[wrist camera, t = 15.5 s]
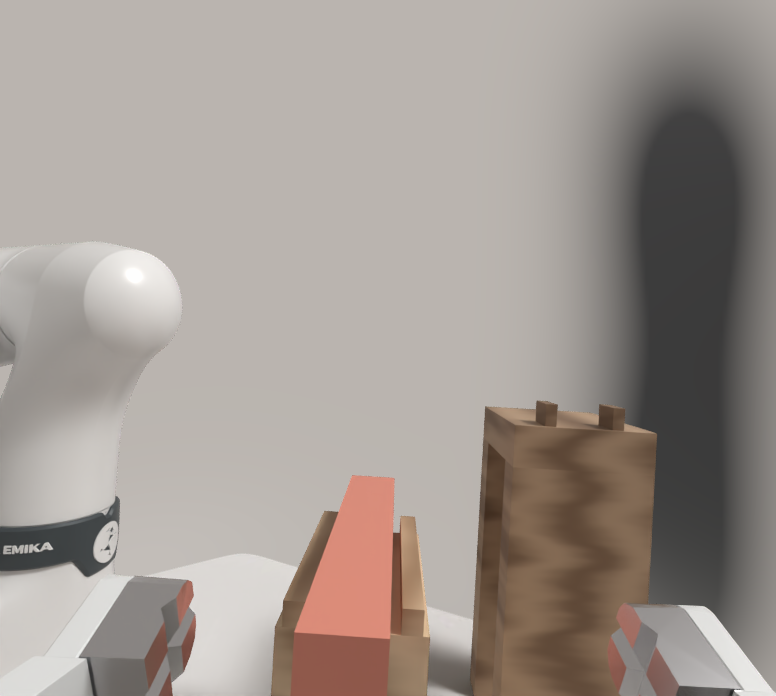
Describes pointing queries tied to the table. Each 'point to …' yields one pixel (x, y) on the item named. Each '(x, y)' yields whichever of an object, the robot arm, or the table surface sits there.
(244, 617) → the table surface
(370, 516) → the salmon pink rectangular bar
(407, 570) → the block
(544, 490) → the pin stand
